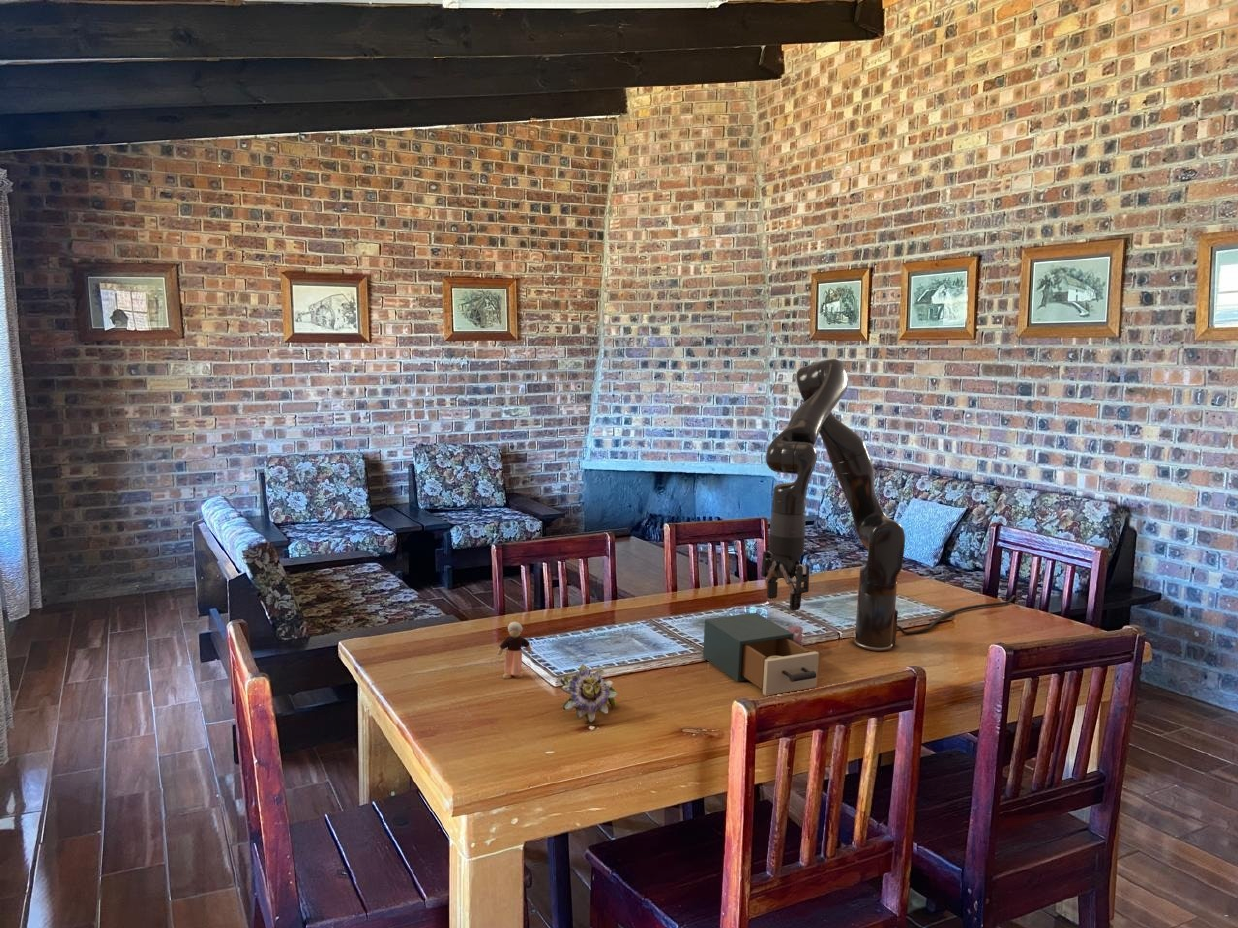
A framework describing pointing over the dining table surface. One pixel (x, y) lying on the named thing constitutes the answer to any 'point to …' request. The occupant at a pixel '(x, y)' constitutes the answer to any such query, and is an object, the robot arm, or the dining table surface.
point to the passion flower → (588, 693)
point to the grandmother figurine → (513, 650)
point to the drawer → (779, 666)
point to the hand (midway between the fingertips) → (782, 603)
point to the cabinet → (737, 639)
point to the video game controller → (797, 634)
